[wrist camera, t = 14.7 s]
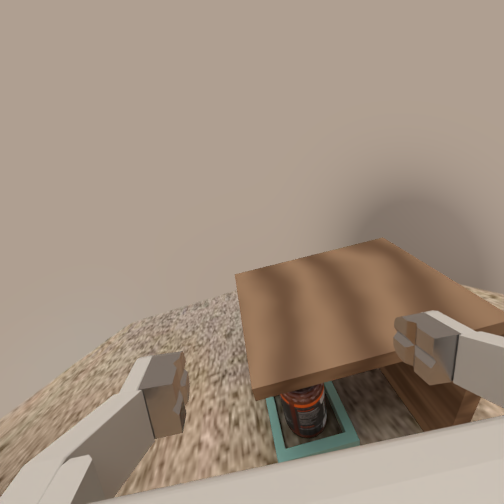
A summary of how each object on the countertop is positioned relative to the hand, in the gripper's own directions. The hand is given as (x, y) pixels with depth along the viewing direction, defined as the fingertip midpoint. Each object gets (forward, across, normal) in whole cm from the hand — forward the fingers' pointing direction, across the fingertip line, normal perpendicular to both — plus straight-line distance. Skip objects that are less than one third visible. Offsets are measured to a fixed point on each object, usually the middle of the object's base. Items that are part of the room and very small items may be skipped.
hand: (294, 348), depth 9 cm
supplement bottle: (+19, -6, +27) cm, 33 cm away
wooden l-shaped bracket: (+19, -11, +26) cm, 34 cm away
